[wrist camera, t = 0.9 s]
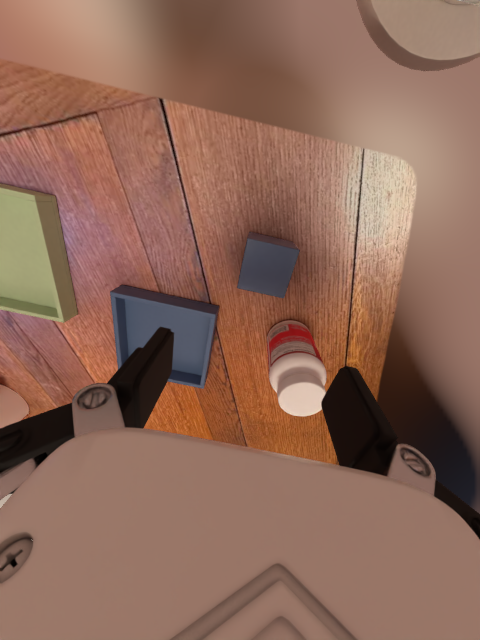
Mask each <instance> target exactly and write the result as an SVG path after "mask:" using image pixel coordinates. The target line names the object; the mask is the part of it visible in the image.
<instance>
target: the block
mask: <svg viewBox="0 0 480 640" xmlns="http://www.w3.org/2000/svg"><path fill="white" fill-rule="evenodd" d="M299 251H300V250H299V249H298V248H297V246H296V245H295V244H294V243H293V242H292V241H288V240H284V239H279V238H275V237H271V236H266V235H262V234H258V233H253V232H249V235H248V238H247V243H246V247H245V252H244V257H243V262H242V267H241V271H240V276H239V281H238V286H237V288H239V289H244V290H248V291H253V292H257V293H262V294H266V295H271V296H275V297H280V298H284V297H285V293H286V290H287V287H288V284H289V281H290V278H291V275H292V272H293V269H294V266H295V263H296V260H297V257H298V254H299Z"/></svg>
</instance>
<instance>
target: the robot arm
mask: <svg viewBox="0 0 480 640" xmlns="http://www.w3.org/2000/svg"><path fill="white" fill-rule="evenodd" d="M442 1H445V2H447V3H450V4H463V5H468V4H473V3H477V2H480V0H442ZM173 346H174V332H171V329H169V328H164V327H159V328H158V329H157V331H156V332H155V333H154V334H153V336H152V337H151V338H150V339H149V341H148V342H147V343H146V344H145V346H144V347H143V348H141V347H138V348H136V349H135V351H134V352H133V353H132V354H131V355H130V357H129V358H128V359H127V360H126V361H125V362H124V364H123V365H122V366H121V367H120V368H119V370H118V371H117V372H116V373H115V374H114V376H113V377H112V378H111V379H110V380H109V382H108V383H107V384H106V383H96V384H91V385H89V386H86V387H84V388H83V389H81V390H80V391H79V392H77V393H76V394H75V396H74V398H73V400H72V403H70V404H67V405H64V406H61V407H58V408H56V409H53V410H50V411H47V412H44V413H41V414H39V415H36V416H33V417H30V418H27V419H24V420H21V421H19V422H16V423H13V424H10V425H7V426H5V427H3V428H0V500H1V499H2V498H4V497H5V496H7V495H8V494H12V493H13V494H12V495H11V497H10V498H9V499H8V500H7V501H6V503H5V504H4V505H3V506H2V507H1V508H0V640H480V514H479V513H477V512H476V511H475V510H474V509H472V508H471V507H470V506H469V505H467V504H466V503H465V502H464V501H462V500H461V499H460V498H458V497H457V496H456V495H455V494H453V493H452V492H451V491H449V490H448V489H447V488H446V487H445V486H443V485H442V484H441V483H439V482H438V481H437V480H436V479H435V477H436V476H435V471H434V468H433V466H432V465H431V463H430V462H429V460H428V459H427V458H426V457H425V456H424V455H423V454H422V453H420V452H419V451H418V450H417V449H415V448H413V447H412V446H409V445H407V444H398V443H397V441H396V439H397V438H398V437H397V435H396V434H395V432H394V430H393V429H392V427H391V425H390V423H389V422H388V420H387V418H386V417H385V415H384V413H383V412H382V410H381V408H380V407H379V405H378V403H377V401H376V400H375V398H374V396H373V395H372V393H371V391H370V390H369V388H368V386H367V385H366V383H365V381H364V379H363V378H362V376H361V374H360V373H359V371H358V370H357V369H356V368H353V367H348V366H345V367H343V368H341V369H340V370H339V371H338V373H337V375H336V377H335V378H334V380H333V382H332V384H331V385H330V387H329V389H328V391H327V392H326V394H325V396H324V398H323V399H322V402H321V406H322V410H323V413H324V416H325V419H326V423H327V426H328V429H329V432H330V436H331V439H332V442H333V445H334V449H335V452H336V455H337V458H338V462H339V465H340V466H339V465H334V464H329V463H324V462H319V461H314V460H309V459H304V458H300V457H295V456H290V455H284V454H279V453H274V452H269V451H264V450H259V449H254V448H249V447H244V446H239V445H234V444H228V443H223V442H218V441H213V440H208V439H202V438H197V437H192V436H187V435H181V434H175V433H169V432H164V431H158V430H151V429H143V428H144V426H145V424H146V422H147V420H148V418H149V416H150V414H151V412H152V410H153V408H154V406H155V404H156V402H157V400H158V398H159V397H160V395H161V393H162V391H163V389H164V387H165V385H166V383H167V381H168V379H169V377H170V375H171V372H172V363H173ZM31 539H32V540H33V541H32V540H31Z"/></svg>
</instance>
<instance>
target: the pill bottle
mask: <svg viewBox="0 0 480 640" xmlns="http://www.w3.org/2000/svg"><path fill="white" fill-rule="evenodd" d="M267 351H268V366H269V379H270V383H271V386H272V388H273V389H274V390H275V391H276V392H277V395H278V402H279V405H280V407H281V408H282V409H283V410H284V411H285V412H287V413H289V414H291V415H295V416H309V415H313V414H315V413H317V412H319V411H320V410H321V409H322V406H321V402H322V399H323V398H324V396H325V394H326V391H325V388H324V385H325V383H326V377H327V375H326V370H325V367H324V364H323V362H322V360H321V357H320V355H319V352H318V350H317V348H316V345H315V343H314V340H313V338H312V335H311V333H310V331H309V329H308V328H307V327H306V326H305V325H304V324H302V323H300V322H298V321H292V320H288V321H283V322H280V323H278V324H276V325H275V326H274V327H272V329H271V330H270V331H269V333H268V336H267Z"/></svg>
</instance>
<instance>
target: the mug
mask: <svg viewBox="0 0 480 640" xmlns="http://www.w3.org/2000/svg"><path fill="white" fill-rule="evenodd" d="M28 413H29V407H28V404H27V403H26V401H25V400H24V399H23V398H22V397H21V396H20V395H19V394H18V393H16V392H15V391H13V390H12V389H10V388H8V387H6V386H3V385H1V384H0V428H3V427H5V426H7V425H10V424H13V423H16V422H19V421H21V420H22V419H23V418H24V417H25V416H26V415H27V414H28Z"/></svg>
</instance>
